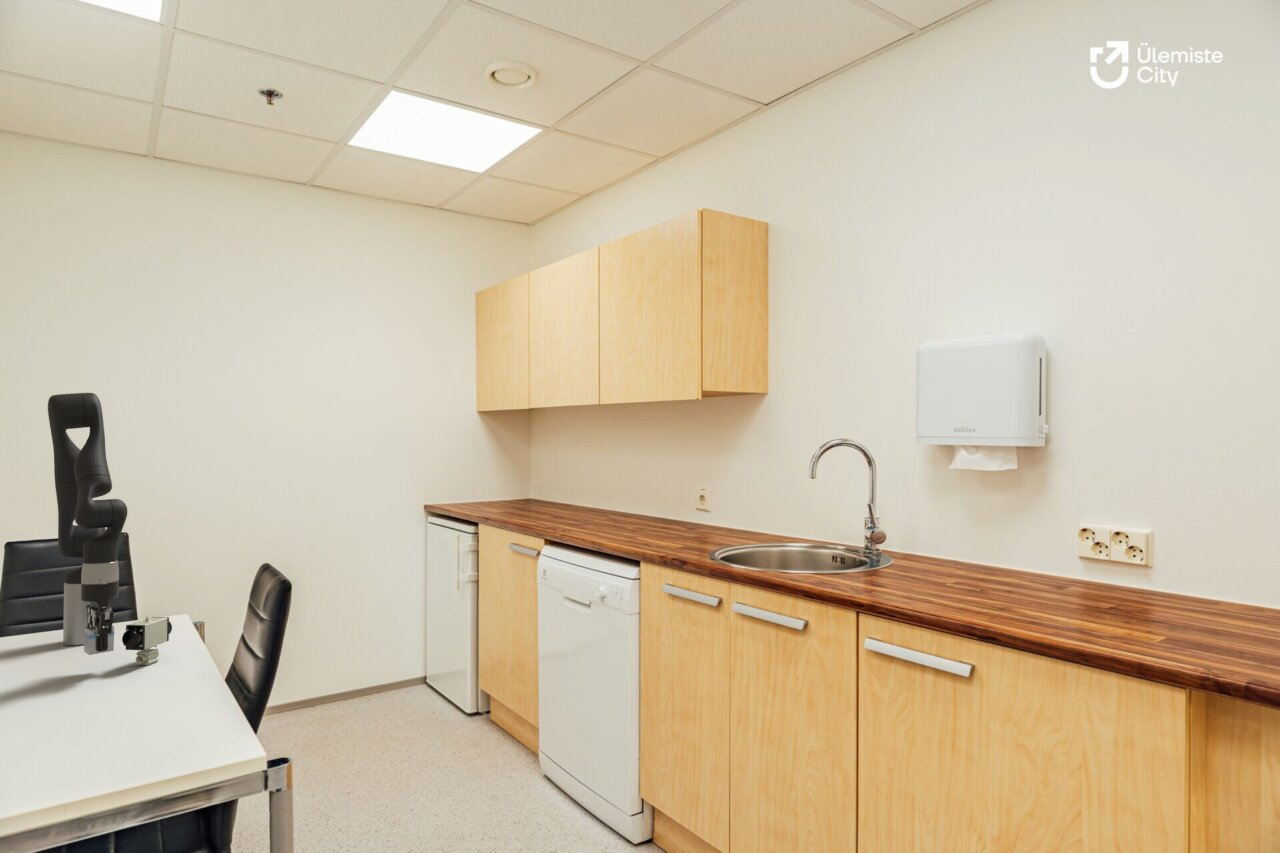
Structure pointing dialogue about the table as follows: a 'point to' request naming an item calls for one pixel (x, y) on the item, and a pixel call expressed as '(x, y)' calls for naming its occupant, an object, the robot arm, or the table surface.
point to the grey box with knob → (91, 640)
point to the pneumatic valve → (147, 638)
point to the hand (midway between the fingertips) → (99, 648)
